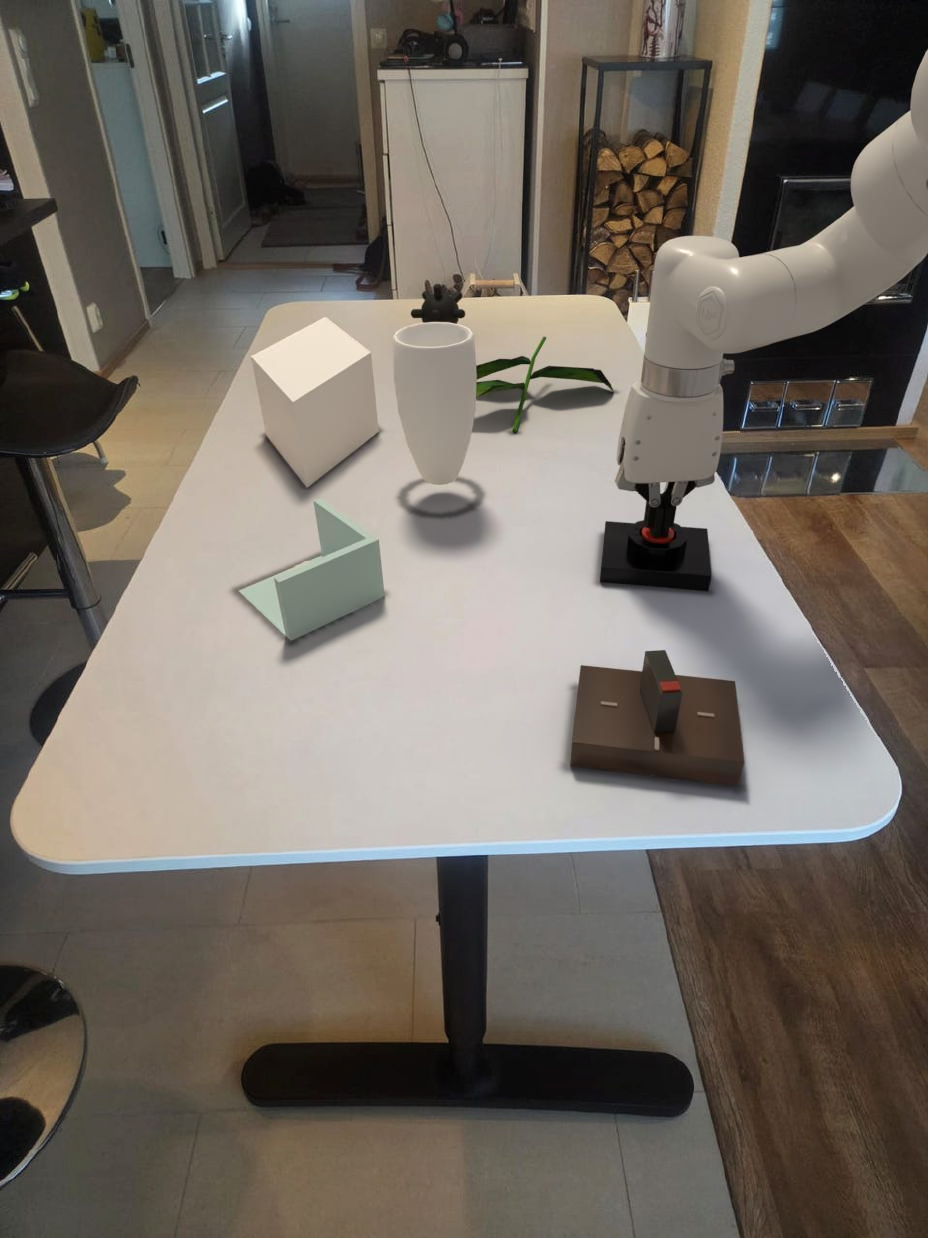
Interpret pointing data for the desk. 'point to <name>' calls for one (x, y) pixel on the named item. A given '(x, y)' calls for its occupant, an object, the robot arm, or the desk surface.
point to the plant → (531, 376)
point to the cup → (436, 395)
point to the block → (316, 397)
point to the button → (648, 536)
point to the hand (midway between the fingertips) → (657, 531)
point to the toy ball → (439, 307)
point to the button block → (656, 558)
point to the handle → (660, 691)
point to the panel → (626, 740)
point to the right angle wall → (323, 578)
